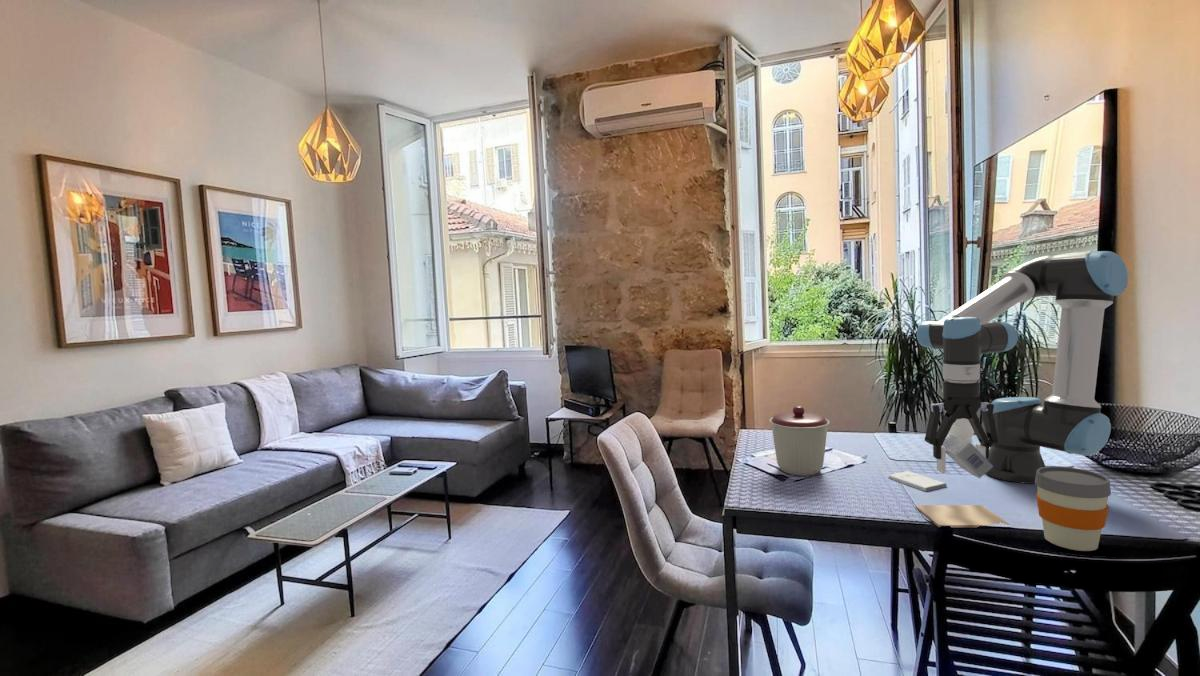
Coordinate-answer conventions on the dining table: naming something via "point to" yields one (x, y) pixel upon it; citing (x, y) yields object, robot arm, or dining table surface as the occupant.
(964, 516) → the cork mat
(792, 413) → the canister
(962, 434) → the cherub figurine
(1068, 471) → the reusable coffee cup
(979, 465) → the medicine box
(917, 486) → the external hard drive
